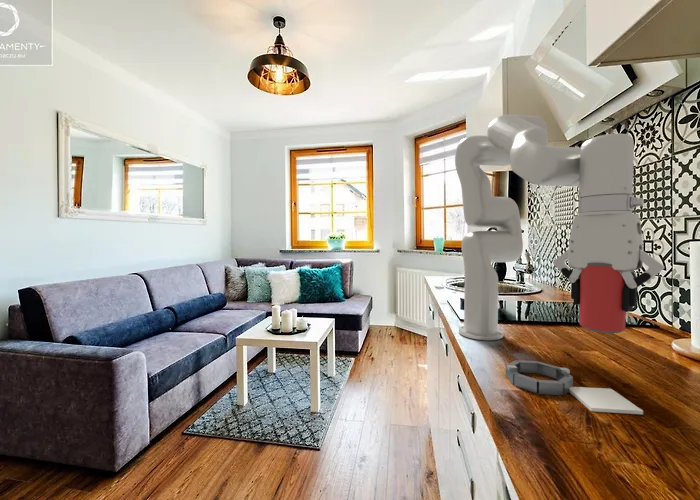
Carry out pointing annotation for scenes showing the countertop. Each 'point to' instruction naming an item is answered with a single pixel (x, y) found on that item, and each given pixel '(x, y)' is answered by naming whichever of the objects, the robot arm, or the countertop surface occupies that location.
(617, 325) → the beer can
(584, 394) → the plate
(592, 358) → the countertop surface
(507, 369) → the collar
